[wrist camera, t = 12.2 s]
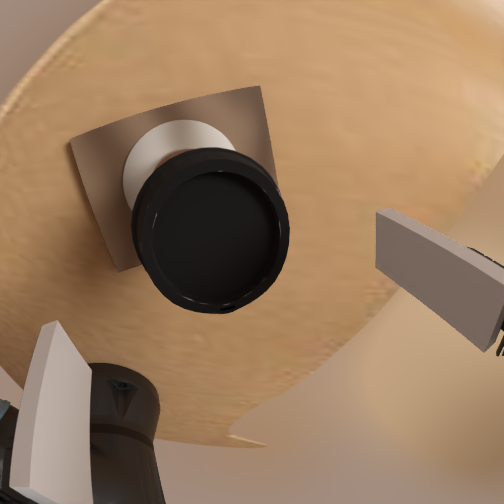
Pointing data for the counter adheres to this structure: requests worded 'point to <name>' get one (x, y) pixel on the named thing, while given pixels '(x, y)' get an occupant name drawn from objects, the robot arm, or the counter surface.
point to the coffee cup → (210, 229)
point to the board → (162, 154)
